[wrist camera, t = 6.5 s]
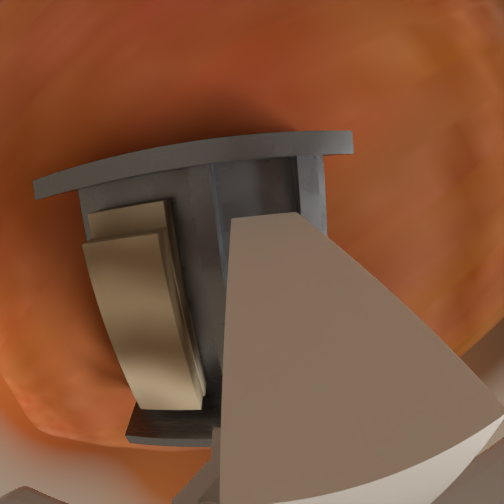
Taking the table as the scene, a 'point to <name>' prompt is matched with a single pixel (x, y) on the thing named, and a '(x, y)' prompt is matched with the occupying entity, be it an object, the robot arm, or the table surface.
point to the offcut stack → (146, 303)
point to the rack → (206, 231)
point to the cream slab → (335, 380)
